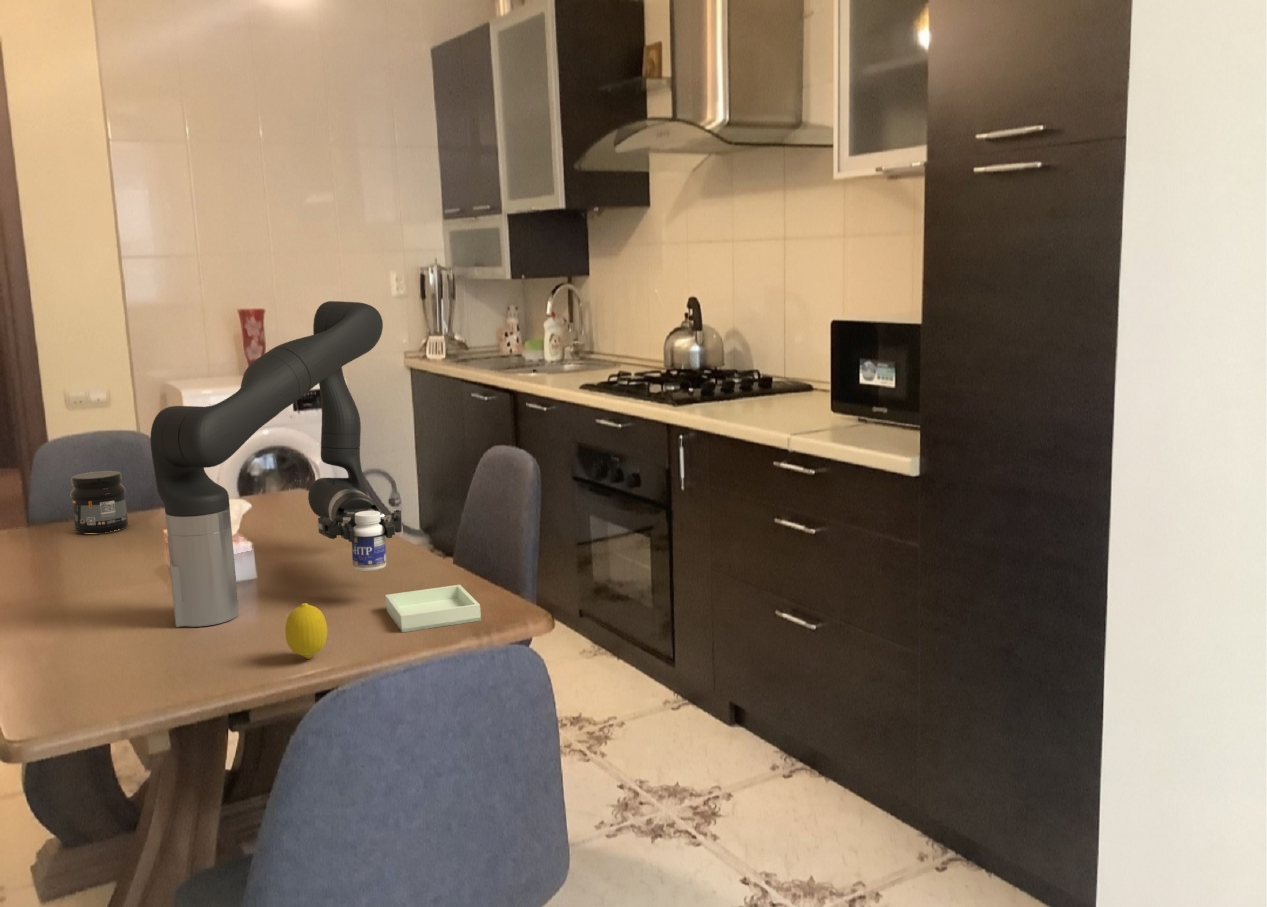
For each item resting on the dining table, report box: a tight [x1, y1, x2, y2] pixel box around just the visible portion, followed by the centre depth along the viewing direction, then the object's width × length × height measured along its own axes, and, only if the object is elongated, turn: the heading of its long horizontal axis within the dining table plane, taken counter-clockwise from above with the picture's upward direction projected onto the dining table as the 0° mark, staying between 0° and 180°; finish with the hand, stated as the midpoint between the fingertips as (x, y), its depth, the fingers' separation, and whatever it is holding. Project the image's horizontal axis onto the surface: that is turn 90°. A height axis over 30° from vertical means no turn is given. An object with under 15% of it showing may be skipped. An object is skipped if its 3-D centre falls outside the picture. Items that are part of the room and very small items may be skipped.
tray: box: [384, 584, 482, 633], centre depth 165 cm, size 12×12×2 cm
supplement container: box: [69, 470, 129, 534], centre depth 226 cm, size 10×10×12 cm
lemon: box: [284, 602, 328, 660], centre depth 146 cm, size 6×6×8 cm
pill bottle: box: [351, 511, 387, 572], centre depth 170 cm, size 5×5×9 cm
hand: (371, 533), depth 168 cm, fingers closed on pill bottle, 5 cm apart
